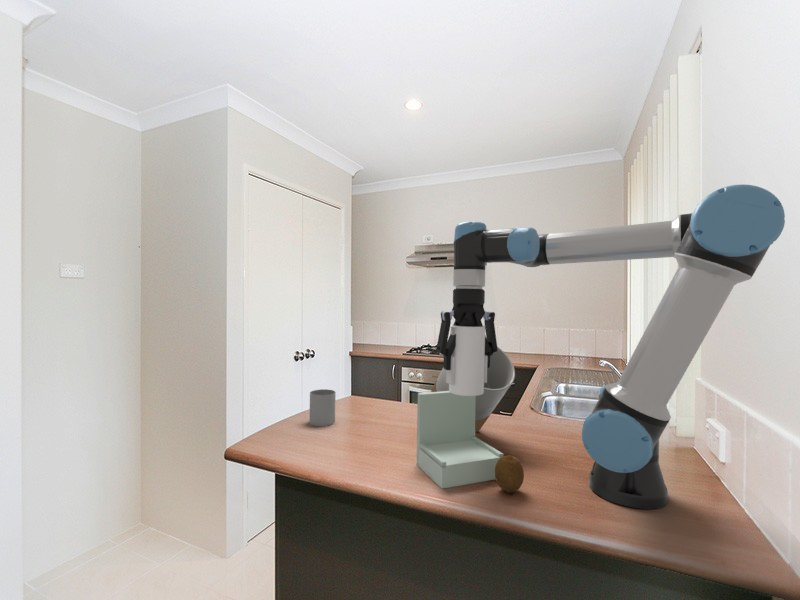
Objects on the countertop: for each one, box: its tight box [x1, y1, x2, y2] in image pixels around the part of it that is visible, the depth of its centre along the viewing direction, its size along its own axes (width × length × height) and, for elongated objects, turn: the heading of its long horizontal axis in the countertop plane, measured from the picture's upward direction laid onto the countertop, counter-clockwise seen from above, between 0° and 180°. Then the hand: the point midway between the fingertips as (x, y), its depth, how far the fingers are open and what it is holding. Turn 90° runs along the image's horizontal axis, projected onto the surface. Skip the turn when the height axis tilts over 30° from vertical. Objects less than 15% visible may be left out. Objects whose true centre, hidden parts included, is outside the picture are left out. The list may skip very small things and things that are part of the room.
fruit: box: [495, 454, 525, 493], centre depth 90 cm, size 6×6×8 cm
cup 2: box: [449, 324, 486, 396], centre depth 99 cm, size 8×8×16 cm
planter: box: [430, 346, 516, 433], centre depth 124 cm, size 19×19×26 cm
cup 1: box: [309, 388, 337, 427], centre depth 138 cm, size 8×8×10 cm
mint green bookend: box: [416, 391, 504, 489], centre depth 101 cm, size 14×16×18 cm
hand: (466, 382), depth 99 cm, fingers closed on cup 2, 8 cm apart
